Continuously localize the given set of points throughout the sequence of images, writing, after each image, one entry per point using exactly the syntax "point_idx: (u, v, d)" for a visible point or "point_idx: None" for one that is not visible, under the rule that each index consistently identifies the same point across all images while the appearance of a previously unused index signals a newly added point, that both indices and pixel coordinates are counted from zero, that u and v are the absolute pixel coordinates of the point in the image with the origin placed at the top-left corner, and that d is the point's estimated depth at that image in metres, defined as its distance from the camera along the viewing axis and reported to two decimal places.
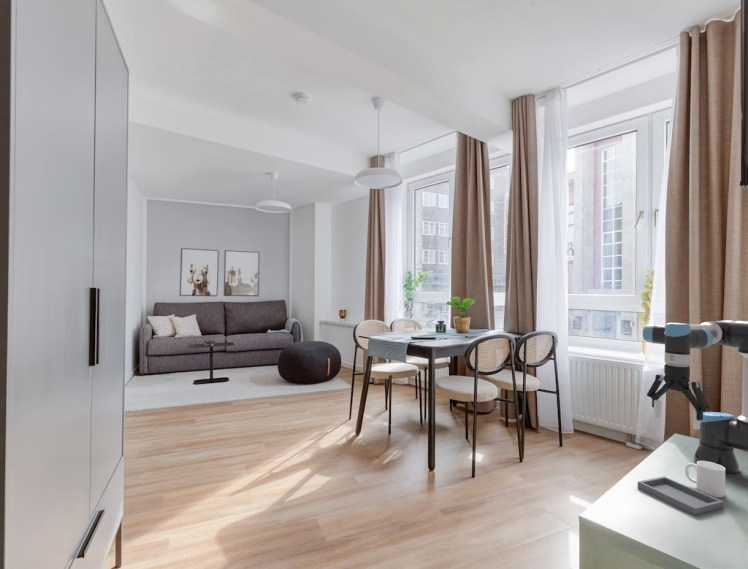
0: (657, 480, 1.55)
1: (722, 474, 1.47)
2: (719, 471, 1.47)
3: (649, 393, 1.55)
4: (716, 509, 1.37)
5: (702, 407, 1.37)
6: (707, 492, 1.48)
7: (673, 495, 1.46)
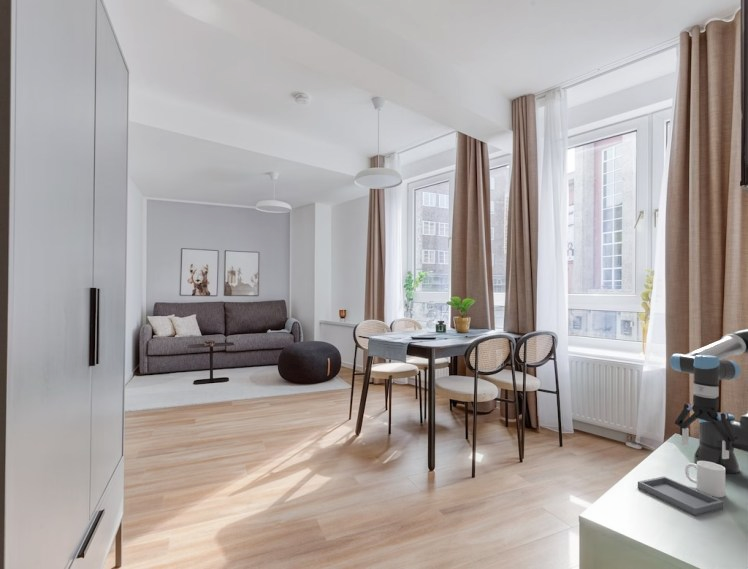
0: (657, 480, 1.55)
1: (722, 474, 1.47)
2: (719, 471, 1.47)
3: (677, 421, 1.61)
4: (716, 509, 1.37)
5: (731, 438, 1.44)
6: (707, 492, 1.48)
7: (673, 495, 1.46)
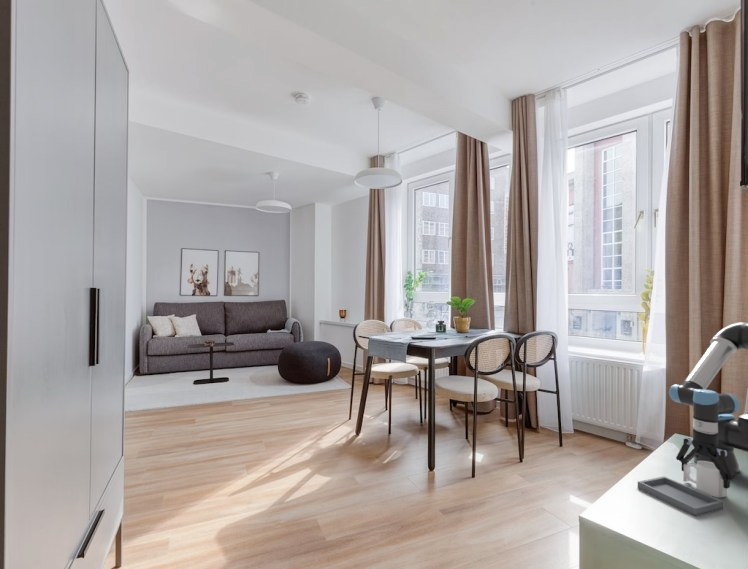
0: (657, 480, 1.55)
1: None
2: None
3: (678, 456, 1.60)
4: (716, 509, 1.37)
5: (729, 476, 1.44)
6: (707, 492, 1.48)
7: (673, 495, 1.46)
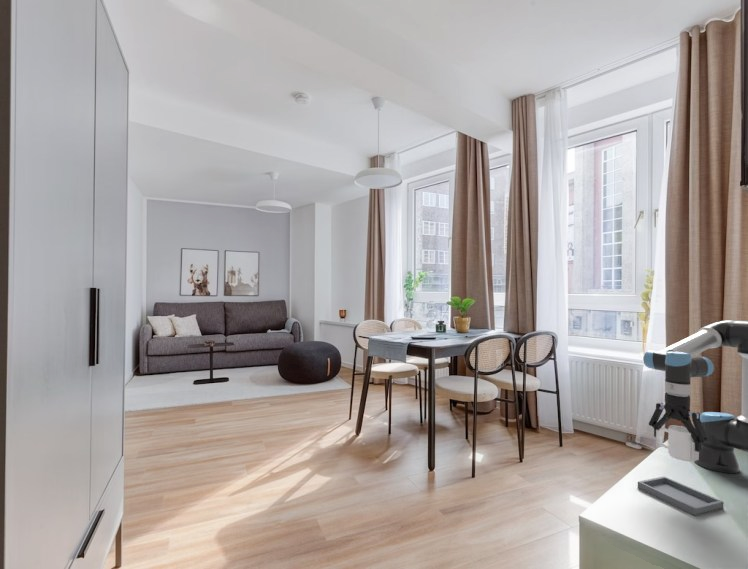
0: (657, 480, 1.55)
1: None
2: (690, 434, 1.41)
3: (651, 422, 1.54)
4: (716, 509, 1.37)
5: (700, 439, 1.38)
6: (678, 456, 1.43)
7: (673, 495, 1.46)
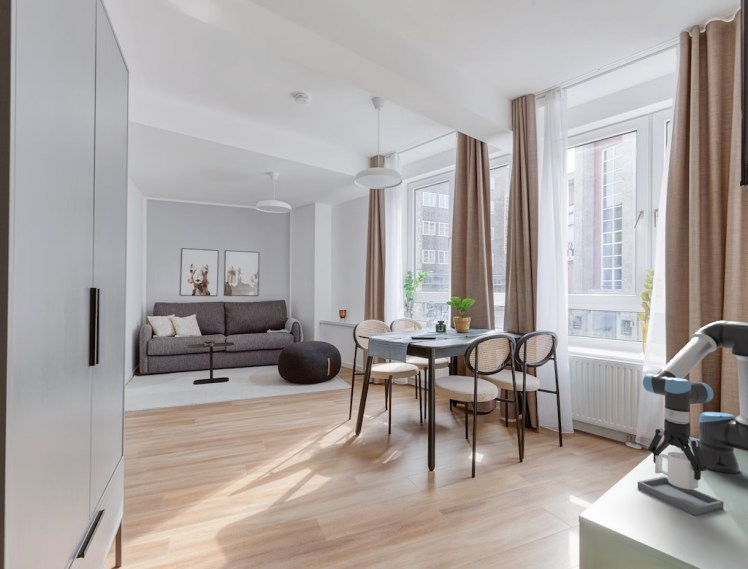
0: (657, 480, 1.55)
1: None
2: None
3: (650, 448, 1.54)
4: (716, 509, 1.37)
5: (700, 467, 1.38)
6: (677, 484, 1.43)
7: (673, 495, 1.46)
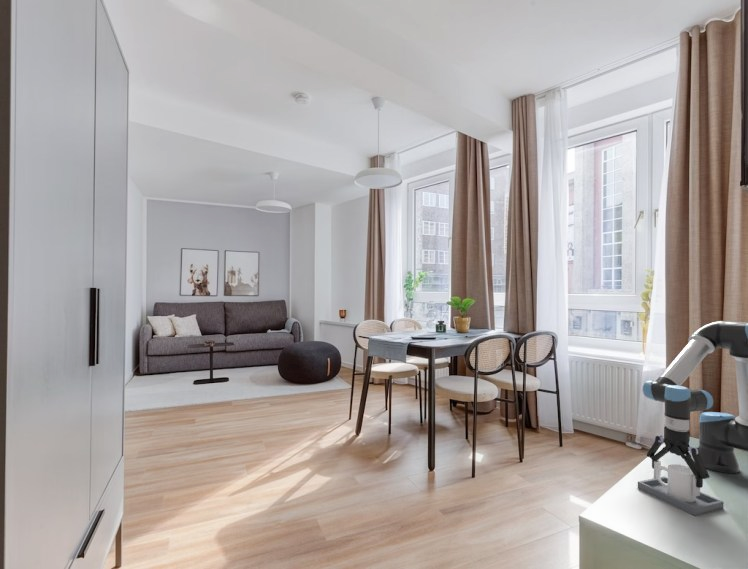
0: (657, 480, 1.55)
1: None
2: (690, 475, 1.41)
3: (649, 453, 1.55)
4: (716, 509, 1.37)
5: (702, 475, 1.38)
6: (677, 497, 1.43)
7: None
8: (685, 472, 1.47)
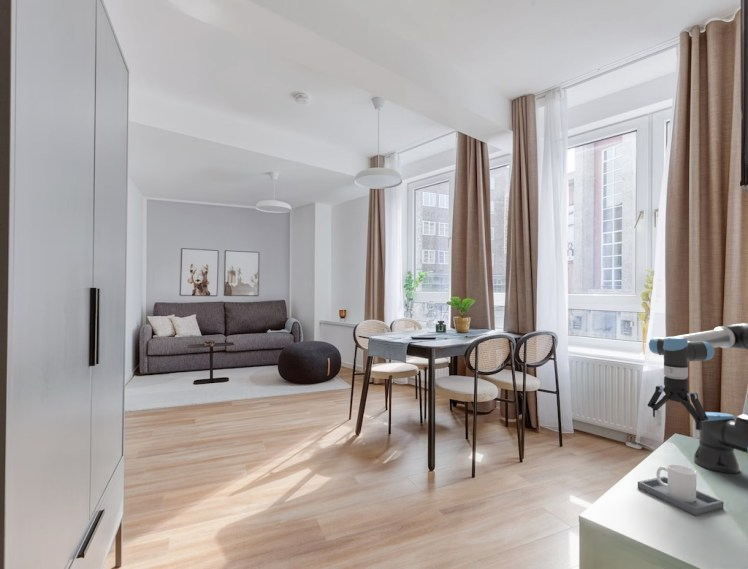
0: (657, 480, 1.55)
1: (693, 478, 1.41)
2: (690, 475, 1.41)
3: (650, 403, 1.62)
4: (716, 509, 1.37)
5: (701, 417, 1.46)
6: (677, 497, 1.43)
7: None
8: (685, 472, 1.48)
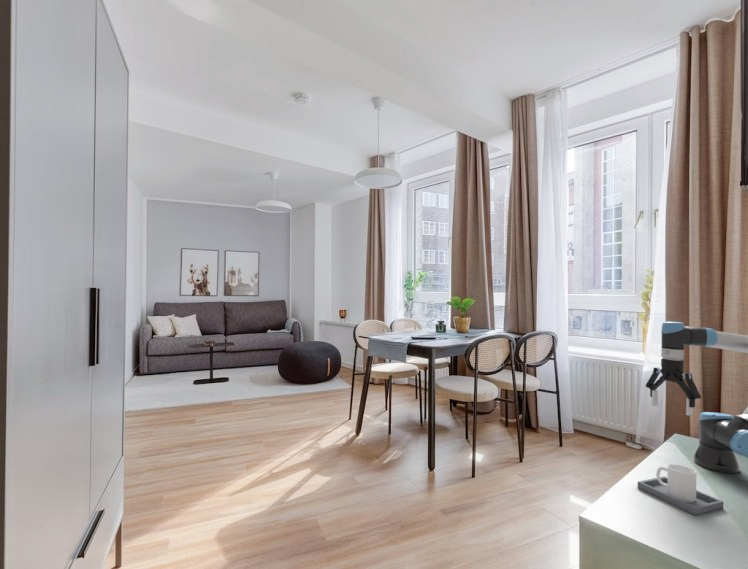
0: (657, 480, 1.55)
1: (693, 478, 1.41)
2: (690, 475, 1.41)
3: (648, 384, 1.73)
4: (716, 509, 1.37)
5: (694, 395, 1.56)
6: (677, 497, 1.43)
7: None
8: (685, 472, 1.47)
